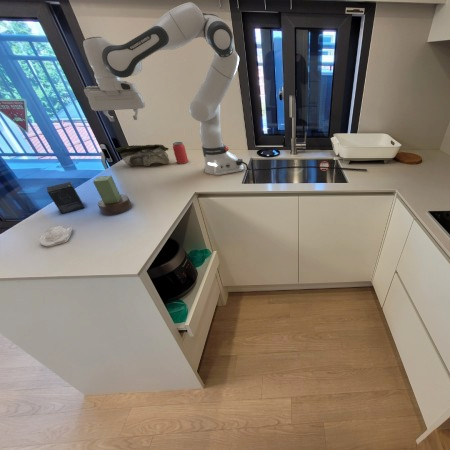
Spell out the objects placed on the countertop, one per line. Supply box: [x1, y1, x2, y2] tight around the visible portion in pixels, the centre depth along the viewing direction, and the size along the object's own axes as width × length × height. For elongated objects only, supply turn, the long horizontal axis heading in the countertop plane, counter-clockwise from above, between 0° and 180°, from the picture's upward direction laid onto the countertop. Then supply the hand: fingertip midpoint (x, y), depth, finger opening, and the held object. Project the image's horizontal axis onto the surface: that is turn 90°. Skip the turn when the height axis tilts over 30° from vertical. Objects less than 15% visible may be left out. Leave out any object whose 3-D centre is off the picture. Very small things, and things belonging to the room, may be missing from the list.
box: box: [46, 181, 85, 214], centre depth 101 cm, size 8×6×11 cm
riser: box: [97, 194, 133, 216], centre depth 103 cm, size 11×11×4 cm
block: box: [92, 175, 121, 204], centre depth 99 cm, size 5×5×10 cm
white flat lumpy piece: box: [38, 225, 74, 248], centre depth 85 cm, size 10×4×10 cm
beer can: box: [172, 141, 189, 165], centre depth 150 cm, size 7×7×12 cm
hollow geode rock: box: [114, 144, 170, 167], centre depth 145 cm, size 28×13×15 cm
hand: (124, 120), depth 109 cm, fingers open, 8 cm apart
